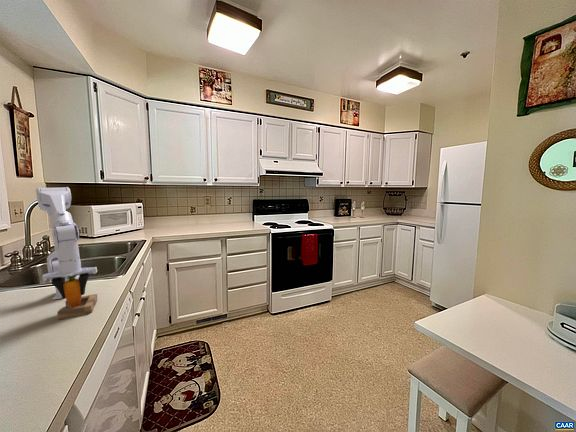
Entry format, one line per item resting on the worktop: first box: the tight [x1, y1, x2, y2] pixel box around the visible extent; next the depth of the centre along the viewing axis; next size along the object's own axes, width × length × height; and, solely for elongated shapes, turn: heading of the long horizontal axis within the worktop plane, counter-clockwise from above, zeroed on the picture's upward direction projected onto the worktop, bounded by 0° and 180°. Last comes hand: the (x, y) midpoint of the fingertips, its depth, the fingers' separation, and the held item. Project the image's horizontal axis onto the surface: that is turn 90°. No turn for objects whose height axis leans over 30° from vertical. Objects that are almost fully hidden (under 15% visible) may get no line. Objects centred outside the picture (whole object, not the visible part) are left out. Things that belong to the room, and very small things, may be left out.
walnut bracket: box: [57, 293, 99, 320], centre depth 90 cm, size 11×9×2 cm
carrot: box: [63, 274, 83, 308], centre depth 88 cm, size 5×5×15 cm
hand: (74, 295), depth 89 cm, fingers closed on carrot, 4 cm apart
